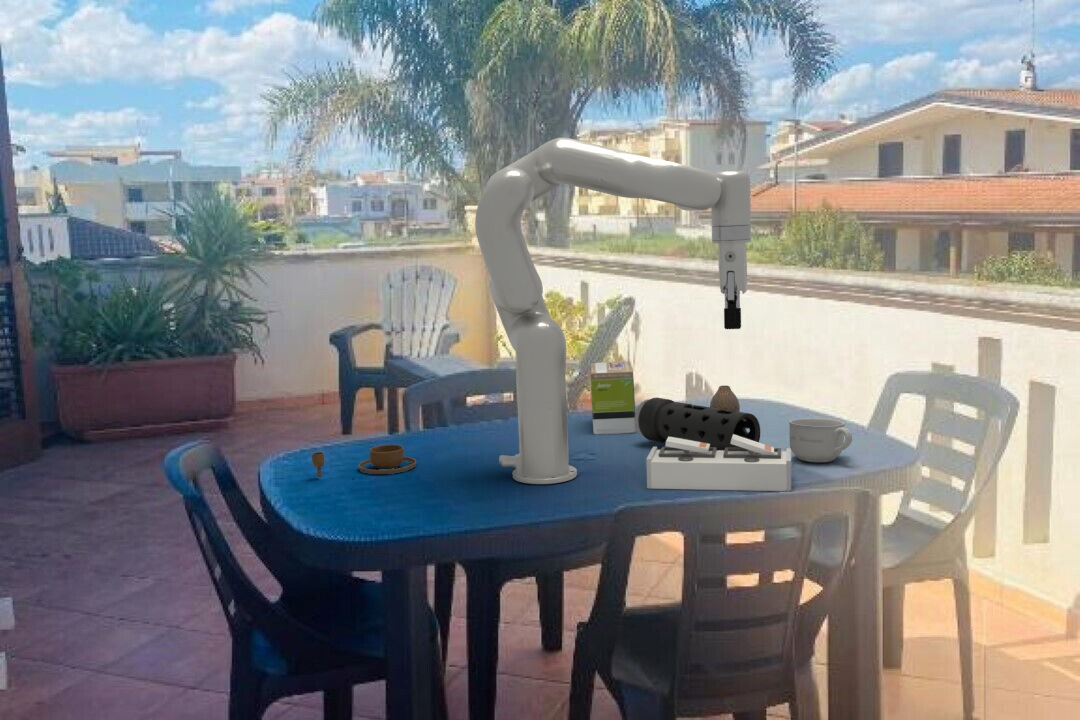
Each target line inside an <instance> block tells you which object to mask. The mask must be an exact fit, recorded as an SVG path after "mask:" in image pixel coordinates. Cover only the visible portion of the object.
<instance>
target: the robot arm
mask: <svg viewBox="0 0 1080 720" xmlns="http://www.w3.org/2000/svg"><path fill="white" fill-rule="evenodd" d="M562 184H563V185H568V186H572V187H577V188H581V189H586V190H590V191H593V192H598V193H602V194H606V195H612V196H615V197H621V198H627V199H644V200H645V199H646V200H652V201H656V202H657V201H658V202H663V203H668V204H672V205H674V206H675V207H677V208H678V209H680V210H682V211H690V212H691V211H695V212H696V211H699V212H700V211H707V210H709V209H710V210H711V211H710V213H711V244H717V247H718V249H717V256H718V257H717V258H718V278H719V279H718V280H719V289H720V293H721V294H722V295H724V308H723V320H724V321H723V324H724V329H725V330H740V329H741V328H742V308H741V300H740V297H741V296H740V295H741V293H742V295H744V294H745V293H746V292H747V291H748V264H747V262H748V261H747V257H748V256H747V247H746V243H751V242H752V226H751V225H752V224H751V223H752V222H751V221H752V219H751V218H752V217H751V215H752V214H751V212H752V211H751V208H752V205H751V177H750V174H749V172H747V171H745V170H725V171H724V170H723V171H722V170H721V171H717V172H715V173H713V172H711V171H709V170H707V169H703V168H698V167H695V166H690V165H687V164H681V163H677V162H673V161H667V160H664V159H659V158H654V157H650V156H646V155H642V154H638V153H634V152H629V151H625V150H620V149H616V148H612V147H607V146H603V145H600V144H596V143H592V142H587V141H583V140H579V139H574V138H569V137H557V138H553V139H552V140H548V141H547V142H544V143H543V144H541V145H540V146H539V147H538V148H536V149H534V150H533V151H531V152H530V153H528V154H526V155H524V156H523V157H520V158H519V159H517V160H516V161H514V162H512V163H510V164H509V165H507V166H505V167H504V168H501V169H500V170H498V171H496V172H495V173H494V174H492V175H491V176H490V178H489V179H488V181H487V182H486V186H485V190H484V191H483V193H482V194H481V197H480V199H479V201H478V204H477V208H476V212H475V220H474V221H475V222H474V227H475V234H476V239H477V242H478V245H479V247H480V251H481V254H482V257H483V260H484V264H485V266H486V268H487V271H488V273H489V276H490V282H489V283H490V284H489V288H490V294H491V297H492V298H491V299H492V300H493V303H494V306H495V308H496V311H497V313H498V316H499V318H500V321H501V323H502V326H503V328H504V332H505V334H506V336H507V338H508V340H509V344H510V345H511V347H512V349H513V350H514V351H515V362H516V365H515V366H516V369H515V372H516V373H515V375H516V379H515V380H516V381H515V382H516V383H515V384H516V402H517V404H516V405H517V423H518V447H519V450H518V451H519V452H518V453H517V454H516V453H515V454H514V455H499V458H498V462H499V463H498V464H499V466H502V467H503V468H509V467H511V468H513V469H514V470H513V471H512V478H513V480H515V481H516V482H518V483H523V484H530V485H553V484H559V483H564V482H567V481H571V480H573V479H575V478H576V477H577V475H578V473H577V472H578V470H577V468H576V467H574V466H573V465H570V464H569V463H570V462H569V461H570V460H569V458H570V457H569V440H568V439H569V436H568V435H569V434H568V412H567V411H568V409H567V391H566V390H567V389H566V388H567V387H566V384H567V382H566V368H567V367H566V364H567V363H566V362H567V342H566V341H567V340H566V336H565V334H564V332H563V329H562V327H561V326H560V325H559V324H558V323H557V322H556V321H555V320H554V319H553V318H552V317H551V315H550V312H549V310H548V307H547V305H546V302H545V299H544V297H543V294H544V293H543V292H544V291H543V289H544V287H543V282H542V279H541V276H540V275H539V273H538V270H537V268H536V266H535V264H534V262H533V259H532V257H531V254H530V252H529V251H530V250H529V248H528V246H527V243H526V240H525V237H524V234H523V230H522V224H521V222H522V217H523V214H524V211H525V210H526V209H527V208H528V207H529V206H530V204H531V203H532V202H533V201H536V200H537V199H539V198H541V197H542V196H545V195H546V194H548V193H549V192H550V191H552V190H554V189H555V188H556V187H558V186H560V185H562Z"/></svg>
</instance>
